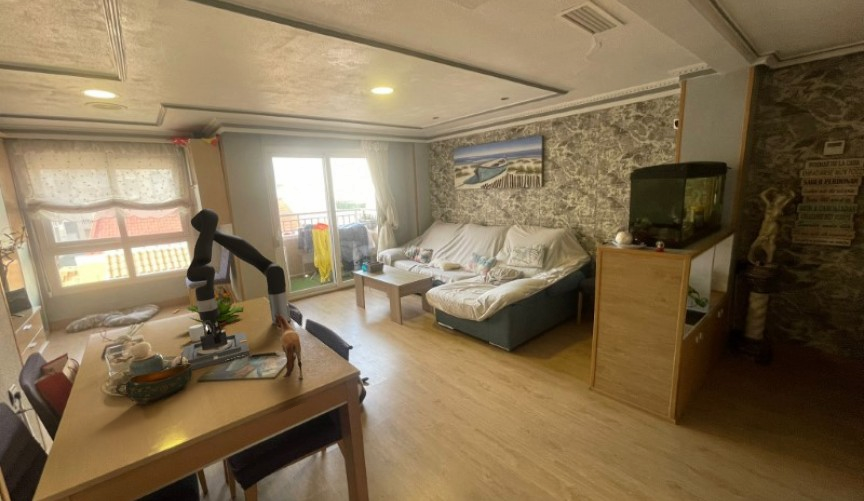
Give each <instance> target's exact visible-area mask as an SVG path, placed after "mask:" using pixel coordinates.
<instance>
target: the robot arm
mask: <svg viewBox="0 0 864 501" xmlns="http://www.w3.org/2000/svg"><path fill="white" fill-rule="evenodd" d="M218 223H219V215H218V213H217V212H216V211H215V210H213V209H211V208H203V209H202V210H200V211H198V212H197V213H196V214H195V215H194V216H192V218H191V220H190V225H191V226H192V228H194V230H196V231H197V232H199V234H198V237H197V238H196V242H195V245H194V248H193V249H194V250H193V257H192V260H191V262H190V264H189V266H188V268H187V270H186V277H187V279H188V281H189V282H191V283H198V282H206V283H205V284H203V285H199V286H197V287H196V288H195V297H196V302H197V303H196V304H197V305H196V306H198V311H199V313H198V316H199V320H201V321H202V322H203V328H204V333H206V335H208V334H211V333H213V336H214V340H215V344H218V343H221V339H220V335H221V334H222V332H221V330H222V329H221V328H222V327H221V325H220V323H219V322H217V321H216V320H215V319H216V318H217V317H218V316H219V311H218V306H217V301H216V298H215V295H216V294H215V289H214V288H215V285H214V284H215V276H216V270H215V267H214V266H213V265H211V264H210V263H211V262H212V258H213V257H212V256H213V246H214V245H213V244H214V242H215V243H217V244H218V245H220V246H222V247H223V248H224V249H225V250H227V251H228V252H230V253H231V254H232V255H233V256H235V257H237V258H238V259H239V260H241V261H243V262H245V263H247V264H248V265H250V266H253V268H256V269H257V270H258V271H259V272H260V273H262V274H263V276H264V277H265V278H266V283H267V295H268V296H267V297H268V301H269V308H270V309H269V310H270V315H271V321H272V324H273V325H278V324H277V323H276V321H275V320H276V317H275V316H274V315H276V316H278V313H279V314H280V315H282V316H284V317H285V319H286V320H287V322H288V323H289V322H291V321H292V319H291V314H290V312H291V311H290V305H289V303H288V302H289V301H288V296H287V290H286V289H287V288H286V287H287V285H286V284H287V283H286V278H285V276H286V275H285V271H284V268H283V267H282V266H280V265H279V264H277V263H275V262H273V261H271V260H270V259H268V258H267V257H265V256H264V255H263V254H262V253H261V252H260V251H259V250H258V249H257V248H255V246H254V245H252V244H251V242H248V241H247V240H246V239H245V238H243V237H241V236H238V235H235V234H230V233H226V232H223V231H222V230H219V229H218V228H217V227H218ZM216 332H218V333H216Z"/></svg>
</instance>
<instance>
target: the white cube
mask: <svg viewBox="0 0 864 501" xmlns="http://www.w3.org/2000/svg"><path fill="white" fill-rule="evenodd" d="M187 330H188V334H189V337H190V340H191V341H192V342H200V341H201V339H200V336H204V335H205V330H204V328H203V324H202V323H196V324H193V325H190V326H188V327H187Z"/></svg>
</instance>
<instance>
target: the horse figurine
mask: <svg viewBox="0 0 864 501" xmlns="http://www.w3.org/2000/svg"><path fill="white" fill-rule="evenodd" d="M274 316H275V317H276V320H275V321H276V323H277V324H276V325H277V329H278V330H279V331H280V337H279V338H280V344H281V347H282V351H283V352H284V355H285V358H286V366H285V368H286V373H285V375H283V377H282V378H284V379H286V378H289V377H290V376H292V372H293V371H294V367H295V359H294V358H296V359H297V365H298V367H299V368H298V369H299V373H298V374H299V375H298V379H303V378H304V377H303V376H304V375H303V371H302V365H303V364H302V361H301V359H302V354H301V353H302V347H301V341H300V336H299V334H298V333H297V332H296V331H295V329H294V328H293V327H292V326H291V325H290V323H289V321H288V322H287V320H286V319H285V317H284V316H282V315H280V314H279V313H278V316H276V315H274Z"/></svg>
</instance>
